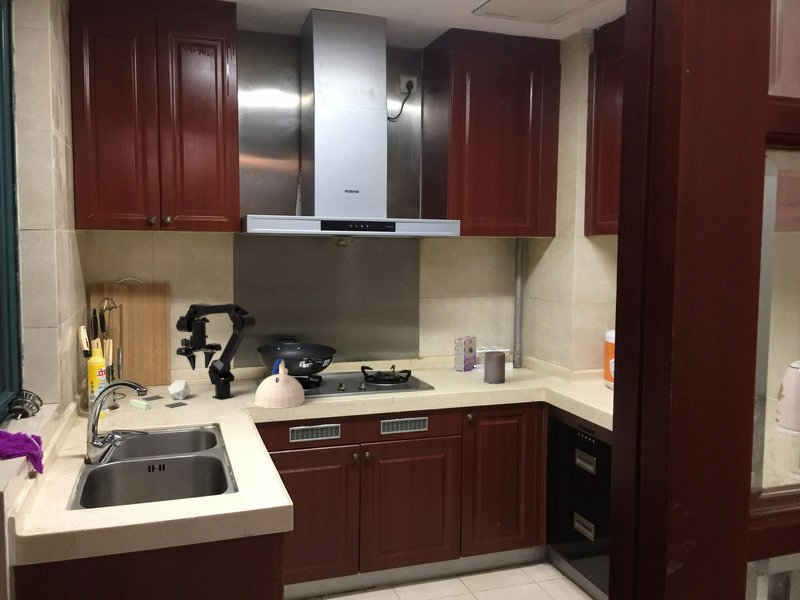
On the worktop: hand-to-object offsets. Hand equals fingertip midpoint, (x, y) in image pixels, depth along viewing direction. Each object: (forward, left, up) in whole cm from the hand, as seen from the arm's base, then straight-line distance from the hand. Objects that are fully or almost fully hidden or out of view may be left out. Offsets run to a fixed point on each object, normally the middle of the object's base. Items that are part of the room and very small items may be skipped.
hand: (200, 369), depth 276 cm
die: (0, +10, -11) cm, 15 cm away
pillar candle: (-83, -103, -11) cm, 133 cm away
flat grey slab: (0, +21, -11) cm, 24 cm away
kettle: (-37, -13, -11) cm, 41 cm away
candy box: (-55, -120, -11) cm, 132 cm away
